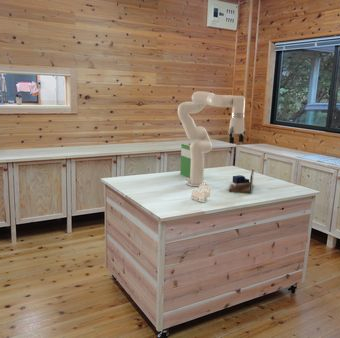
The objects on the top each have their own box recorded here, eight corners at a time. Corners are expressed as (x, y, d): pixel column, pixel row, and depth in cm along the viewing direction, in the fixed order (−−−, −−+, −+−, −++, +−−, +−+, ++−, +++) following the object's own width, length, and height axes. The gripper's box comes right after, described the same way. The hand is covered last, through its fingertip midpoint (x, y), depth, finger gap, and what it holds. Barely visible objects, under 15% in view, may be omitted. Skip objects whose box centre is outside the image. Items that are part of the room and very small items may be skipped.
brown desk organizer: (229, 191, 255) (230, 174, 253) (233, 183, 278) (234, 167, 275) (250, 193, 252) (252, 176, 249) (252, 185, 275) (253, 168, 272)
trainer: (235, 186, 263) (236, 177, 261) (231, 184, 267) (232, 176, 266) (249, 184, 268) (250, 176, 267) (245, 182, 272) (246, 174, 271)
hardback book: (180, 173, 303) (181, 144, 298) (188, 172, 307) (189, 143, 301) (192, 178, 288) (193, 147, 283) (200, 177, 292) (201, 147, 287)
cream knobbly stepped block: (208, 204, 232) (214, 188, 233) (202, 202, 228) (208, 185, 229) (195, 199, 241) (201, 183, 242) (188, 197, 237) (194, 181, 238)
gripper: (241, 114, 248) (239, 140, 251) (224, 115, 236) (223, 142, 240) (250, 115, 242) (249, 142, 246) (234, 116, 231) (232, 144, 234)
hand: (236, 142), depth 243 cm, fingers open, 9 cm apart
